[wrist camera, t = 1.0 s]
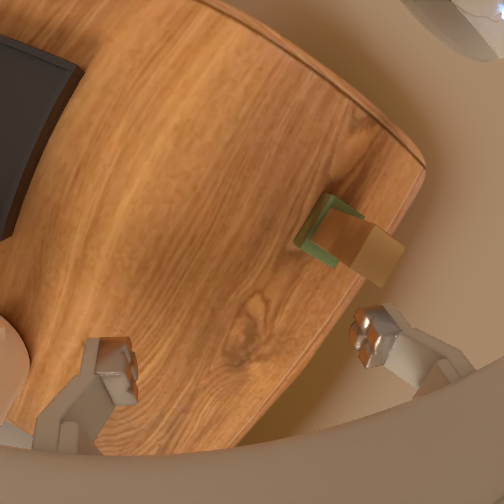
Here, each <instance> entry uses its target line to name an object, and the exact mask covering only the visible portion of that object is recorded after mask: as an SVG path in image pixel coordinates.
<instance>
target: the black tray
mask: <svg viewBox="0 0 504 504" xmlns="http://www.w3.org/2000/svg"><path fill="white" fill-rule="evenodd" d="M84 73H85V71H83V70H82V69H81V68H80V67H79V66H77V65H75V64H73V63H71V62H68V61H66V60H64V59H61V58H59V57H57V56H54V55H52V54H49V53H47V52H44V51H42V50H39V49H37V48H34V47H32V46H29V45H26V44H24V43H21V42H19V41H16V40H13V39H10V38H8V37H5V36H2V35H0V242H1V241H3V240H5V239H7V238H8V237H10V236H12V233H13V229H14V226H15V223H16V220H17V217H18V214H19V211H20V208H21V205H22V202H23V199H24V197H25V194H26V191H27V188H28V186H29V183H30V181H31V178H32V176H33V173H34V171H35V168H36V166H37V164H38V161H39V159H40V157H41V154H42V152H43V150H44V148H45V145H46V143H47V141H48V139H49V137H50V135H51V133H52V131H53V129H54V127H55V125H56V123H57V121H58V119H59V117H60V115H61V113H62V111H63V109H64V107H65V105H66V104H67V102H68V100H69V98H70V96H71V95H72V93H73V91H74V89H75V88H76V86H77V84H78V83H79V81H80V79H81V78H82V76H83V74H84Z"/></svg>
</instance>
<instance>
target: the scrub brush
mask: <svg viewBox="0 0 504 504" xmlns="http://www.w3.org/2000/svg"><path fill="white" fill-rule="evenodd" d="M364 218H365V217H364V216H363V215H361V214H360V213H359V212H357V211H356V210H354V209H353V208H352V207H350V206H349V205H347V204H346V203H345V202H343V201H342V200H340V199H339V198H337V197H336V196H335V195H333V194H329V193H325V192H323V193H322V195H321V197H320V198H319V200H318V202H317V204H316V205H315V207H314V209H313V210H312V212H311V214H310V215H309V217H308V219H307V220H306V222H305V224H304V225H303V227H302V229H301V230H300V232H299V234H298V235H297V237H296V239H295V240H294V242H293V243H294V244H295V245H296V246H297V247H298V248H300V249H301V250H303V251H304V252H306V253H308V254H310V255H311V256H313V257H315V258H316V259H318V260H320V261H322V262H323V263H325V264H327V265H328V266H330V267H332V268H335V266H336V265H337V263H338V261H340V262H342V263H343V264H345V265H346V266H347V267H349V268H350V269H352V270H354V271H355V272H357V273H358V274H360V275H362V276H363V277H365V278H366V279H368V280H370V281H371V282H373V283H375V284H376V285H378V286H379V287H381V288H382V287H383V285H384V284H385V282H386V281H387V279H388V278H389V276H390V274H391V273H392V271H393V269H394V268H395V266H396V264H397V263H398V261H399V259H400V257H401V256H402V254H403V252H404V251H405V249H406V248H405V247H404V246H403V245H401V244H400V243H399V242H398V241H396V240H395V239H394V238H393V237H391V236H390V235H389V234H387V233H386V232H385V231H383V230H382V229H381V228H379V227H378V226H377V225H375V224H372V223H370V222H367V221H365V220H364Z"/></svg>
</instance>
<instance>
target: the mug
mask: <svg viewBox="0 0 504 504" xmlns="http://www.w3.org/2000/svg"><path fill="white" fill-rule="evenodd" d="M29 371H30V360H29V356H28V351H27V349H26V347H25V345H24V342H23V340H22V339H21V337H20V336H19V334H18V333H17V331H16V330H15V329H14V328H13V327H12V326H11V325H10V323H9V322H8V321H6V320H5V319H4V318H3V317H1V316H0V426H1V424H2V422H3V420H4V418H5V417H6V415H7V413H8V411H9V409H10V408H11V406H12V404H13V402H14V400H15V399H16V397H17V395H18V393H19V392H20V390H21V388H22V387H23V385H24V383H25V381H26V378H27V376H28V373H29Z"/></svg>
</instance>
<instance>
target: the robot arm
mask: <svg viewBox="0 0 504 504" xmlns="http://www.w3.org/2000/svg"><path fill="white" fill-rule="evenodd" d="M451 1H452V2H453V3H454V4H455V5H457V6H458V7H459V8H460V9H462V10H463V11H465V12H467V13H468V14H471V15H473V16H476V17H487V18H489V19H491V20H493V21H494V22H499V21H501V20H502V18H503V19H504V0H451ZM353 317H354V319H355V321H354V322H353V323H352V324H351V326H350V329H349V339H350V343H351V345H352V347H353V348H354V349H356V350H357V351H359V359H360V360H361V362H362V364H363V365H364V367H365V369H369V368H373V367H377V366H380V365H384V366H385V367H387V368H388V369H389V370H391V371H392V372H393V373H395V374H396V375H398V376H399V377H401V378H402V379H403V380H405V381H406V382H408V383H409V384H410V385H412V386H413V387H415V388H416V389H418V391H417V393H416V394H415V395H414V397H413V399H412V400H411V401H408V402H406V403H403V404H400V405H398V406H395V407H392V408H389V409H387V410H384V411H381V412H378V413H375V414H372V415H369V416H366V417H363V418H360V419H357V420H353V421H350V422H347V423H343V424H340V425H337V426H333V427H329V428H326V429H322V430H318V431H314V432H310V433H306V434H302V435H298V436H294V437H289V438H284V439H279V440H275V441H270V442H264V443H259V444H253V445H247V446H241V447H234V448H227V449H220V450H212V451H203V452H193V453H182V454H168V455H146V456H104V455H103V454H102V453H101V452H100V451H99V449H98V448H97V447H96V446H95V444H94V443H93V442H94V440H95V439H96V437H97V435H98V434H99V432H100V431H101V429H102V427H103V426H104V424H105V423H106V421H107V419H108V418H109V416H110V415H111V413H112V411H113V410H114V408H115V407H114V406H128V405H138V388H137V385H136V381H137V380H138V365H137V359H136V356H135V353H134V352H133V351H132V343H131V340H130V337H101V338H87V340H86V341H85V346H84V351H83V356H82V362H81V368H80V374H79V375H75V376H74V377H73V378H72V379H71V380H70V381H69V383H68V384H67V385H66V386H65V387H64V388H63V389H62V390H61V391H60V392H59V393H58V395H57V396H56V397H55V398H54V399H53V400H52V401H51V402H50V403H49V405H48V406H47V407H46V408H45V409H44V410H43V411H42V412H41V413H40V415H39V416H38V417H37V418H36V424H35V429H34V436H33V442H32V449H31V450H29V449H22V448H16V447H10V446H4V445H0V504H504V356H503V357H501V358H499V359H497V360H495V361H494V362H492V363H490V364H488V365H486V366H485V367H482V368H481V369H479V370H477V371H476V369H475V368H474V367H473V365H472V364H471V363H470V362H469V360H468V359H467V358H466V356H465V355H464V354H463V352H461V350H459V349H457V348H455V347H453V346H451V345H449V344H447V343H445V342H443V341H441V340H439V339H437V338H435V337H433V336H431V335H429V334H427V333H425V332H423V331H421V330H419V329H417V328H412V327H411V326H410V324H409V323H408V322H407V321H406V319H405V318H404V317H403V315H402V314H401V313H400V312H399V311H398V309H397V308H396V307H395V305H394V304H393V303H391V302H388V303H384V304H379V305H374V306H369V307H364V308H358V309H357V310H356V311H355V313H354V316H353Z"/></svg>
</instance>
